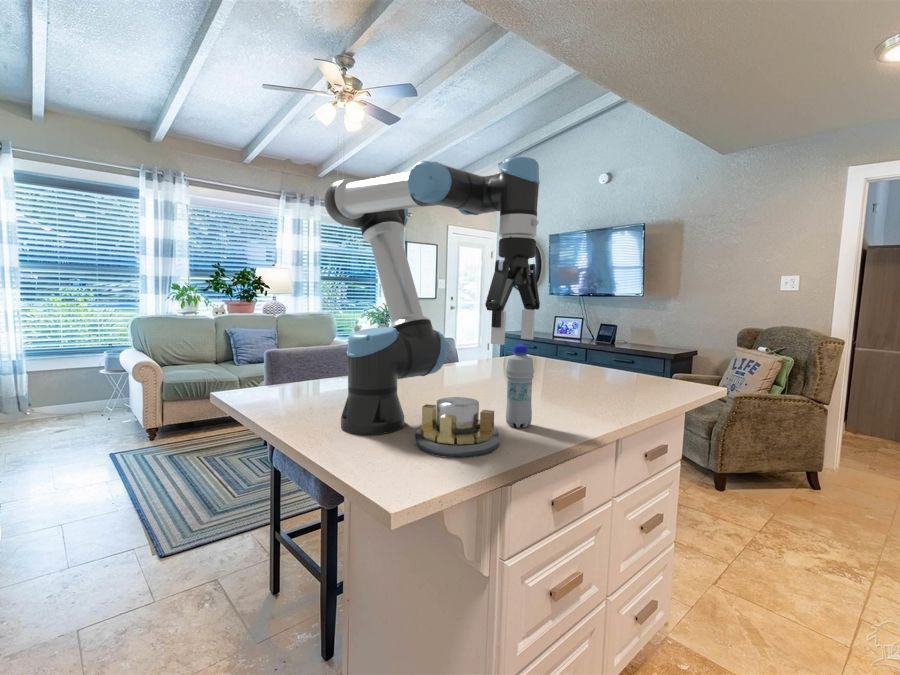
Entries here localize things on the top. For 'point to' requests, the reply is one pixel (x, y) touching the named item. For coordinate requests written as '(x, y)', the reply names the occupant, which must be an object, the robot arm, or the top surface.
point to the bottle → (519, 387)
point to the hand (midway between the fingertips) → (513, 341)
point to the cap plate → (457, 447)
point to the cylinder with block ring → (448, 427)
